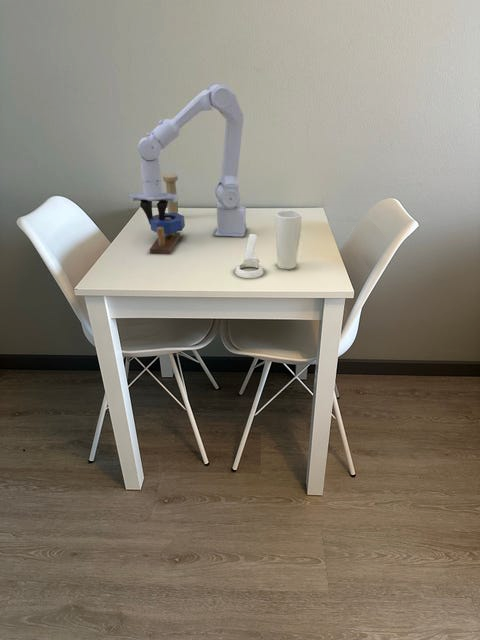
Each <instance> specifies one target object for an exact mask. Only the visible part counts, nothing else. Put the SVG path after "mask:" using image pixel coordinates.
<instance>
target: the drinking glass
mask: <svg viewBox="0 0 480 640" xmlns="http://www.w3.org/2000/svg"><path fill="white" fill-rule="evenodd" d="M301 230H302V213H301V212H300V211H297V210H293V209H292V210H291V209H285V210H284V209H283V210H279V211H277V212H276V213H275V240H276V241H275V243H276V265H277V267H278V268H280V269H282V270H293V269H295V268H296V266H297V262H298V261H297V260H298V259H297V258H298V251H299V245H300V238H301Z"/></svg>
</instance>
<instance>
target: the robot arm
mask: <svg viewBox="0 0 480 640" xmlns="http://www.w3.org/2000/svg"><path fill="white" fill-rule="evenodd" d="M213 109H216V110H217V111H218V112H219V114H221V116H222V117H223V118H224V119H225V128H224V129H225V130H224V140H223V151H222V163H221V173H220V176H219V178H218V184H217V185H216V187H215V191H214V192H215V197H216V198H217V199H218V201H217V203H216V223H217V226H216V227H217V228H216V231H215V233H214V236H215V237H239V238H240V237H241V238H242V237H244V236H245V234H246V230H247V209H246V206H244V205H240V204H239V203H240V202H241V195H240V192H239V187H240V186H239V180H238V173H239V164H240V163H239V162H240V156H241V155H240V153H241V144H242V134H243V126H244V113H243V111H242V110H243V109H242V108H241V106H240V104H239V101H238V99H237V95H236V94H235V93H234V92H233V91H232V89H231V88H229V87H228V86H226V85H223V84H221V83H217V82H215V83H211V84H210V85H209V86H207V88H206V89H203V90H202V91H201V92H199V93H198V94H197V95H195V97H194V98H192V100H191V101H190V102H188V104H186V105H185V106H184V107H183V108H182V109H181V110H180V111H179V112H178V113H177V114H176V115H175V116H174V117H173V118H165V119H160V120H159V121H158V125H156V127H155V128H154V129H152V130H151V132H149V131H148V132H146V134H145V135H146V136H145V137H142V138H141V139H140V140H139V142H138V144H137V151H138V153H139V155H140V156H139V157H140V158H139V161H140V171H141V172H140V174H141V180H142V189H143V190H142V191H143V192H138V193H137V192H135V193H134V192H133V193H129V199H130V201H129V202H136V201H137V202H140V203H139V206H140V208H141V209H142V210H143V212H144V214H145V216H146V218H147V221H148V224H149V225H150V219H151V218H152V217H153V216H154V214H153V202H157V203H156V208H157V211H158V214H159V219H160V220H164V215H165V213H166V210H167V208H168V207H167V204H168V201H173V202H177V201H179V199H178V193H177V194H169V193H166V192H163V182H162V181H163V179H162V171H161V164H160V160H159V159H160V158H159V157H160V153H161V151H163V150H165V149H166V147H168V146H169V145H171V143H172V142H174V141H175V140H176V139H177V138H178V137H179V136H180V130H181V128H183V127H184V126H185V125H186V124H187V123H189V122H190V121H191V120H192V119H193V118H195V117H196V116H197V115H198V114H200V113H201V112H205V111H207V112H208V111H213Z"/></svg>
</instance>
